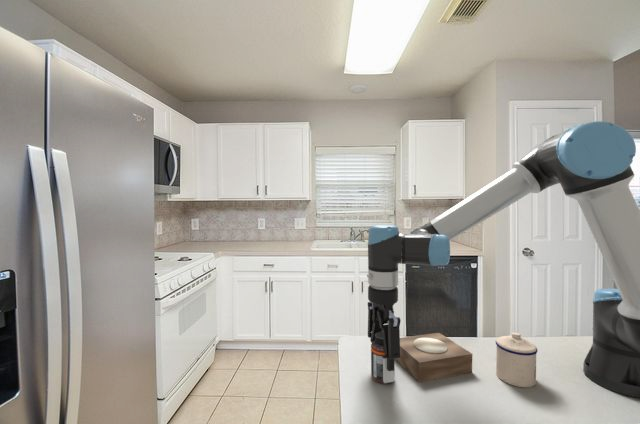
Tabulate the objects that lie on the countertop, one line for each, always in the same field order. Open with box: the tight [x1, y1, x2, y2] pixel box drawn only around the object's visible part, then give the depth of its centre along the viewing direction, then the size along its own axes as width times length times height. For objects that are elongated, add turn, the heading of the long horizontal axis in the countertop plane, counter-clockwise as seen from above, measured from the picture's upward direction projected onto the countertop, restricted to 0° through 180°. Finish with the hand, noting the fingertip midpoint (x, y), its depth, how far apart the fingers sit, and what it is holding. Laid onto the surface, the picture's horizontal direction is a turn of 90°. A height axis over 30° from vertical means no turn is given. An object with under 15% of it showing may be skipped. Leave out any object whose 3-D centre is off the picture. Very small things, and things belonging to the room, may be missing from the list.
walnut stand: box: [395, 332, 473, 383], centre depth 88 cm, size 14×16×5 cm
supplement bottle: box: [370, 332, 396, 384], centre depth 81 cm, size 6×6×11 cm
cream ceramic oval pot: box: [495, 332, 538, 388], centre depth 82 cm, size 12×9×12 cm
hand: (382, 374), depth 81 cm, fingers closed on supplement bottle, 6 cm apart
